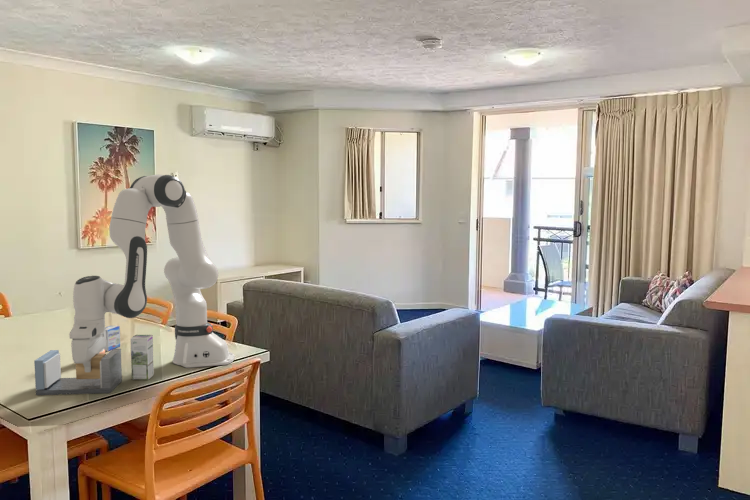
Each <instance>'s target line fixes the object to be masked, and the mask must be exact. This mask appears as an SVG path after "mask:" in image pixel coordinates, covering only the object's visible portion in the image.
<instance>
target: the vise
mask: <svg viewBox="0 0 750 500" xmlns="http://www.w3.org/2000/svg"><path fill="white" fill-rule="evenodd" d="M122 368H123V367H122V348H115V349H113V350H110V351H108V352H107V353H106V355H105V356H104V357H103V358H102V359H101V361H100V379H76V377H60V378H59V379H58V380H57V381H55V382H54V383H53V384H51V385H50V386H49V387H48V388H45V389H41V390H36V389H35V396H50V395H51V396H53V395H54V396H55V395H57V396H58V395H59V394H62V395H86V394H88V395H89V394H111V393H112V392H113V391H114V390H115V389H116V387H118V386H119V384H120V383H122V381H123V378H122V377H123V375H122V374H123V373H122Z"/></svg>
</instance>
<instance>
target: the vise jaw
mask: <svg viewBox="0 0 750 500" xmlns="http://www.w3.org/2000/svg"><path fill="white" fill-rule="evenodd" d="M59 351H60V350H59V349H55V350H54V349H51V350H49V351H48V352H46V353H44V354H42V355H41V356H40V357H38V358H36V359H35V360H34V363H33V364H34V380H35V381H34V385H35V391H36V390H41V389H45V388H48V387H49V386H50V385H51V384H53V383H54V382H55V381H57V380H58V379H59V378H62V369H61V368H62V367H61V353H60V352H59Z"/></svg>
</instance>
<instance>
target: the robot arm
mask: <svg viewBox="0 0 750 500" xmlns="http://www.w3.org/2000/svg"><path fill="white" fill-rule="evenodd" d="M185 188H186V187H185V186H184V184H183V182H182V180H180V178H179V177H177V176H175V175H171V174H152V175H143V176H139V177H138V178H136V179H135V180H133V182H132V183H131V184H130V187H129V188H125V189H122V190H121V191H120V192H119V193H118V195H117V197H116V199H115V203H114V205H113V209H112V213H111V217H110V222H109V238H110V239H111V241H112V242H113V244H114V245H116V246H117V247H118V248H119V249H120V250H121V251H122V252H123V254H124V256H125V259H126V262H125V263H126V264H125V276H124V283H123V284H119V283H115V282H113V281H112V282H111V281H108V280H106V279H104V278H102V277H101V276H99V275H87V276H83V277H81V278H79V279H77V280H76V281H75V283H74V286H73V291H72V292H73V293H72V295H73V296H72V299H73V300H72V303H73V305H72V306H73V308H74V317H73V322H74V323H73V326H72V327H71V328H72V329H70V331H69V334H68V335H69V336H68V337H69V339H71V344H70V346H71V357H72V361H73V363H74V364H76V363H83V365H84V368H85V372H91V371H92V366H91V363H90V362H91V358H93V357H94V356H95V355H96V354H99V352H100V351H101V350H103V349H104V348H105V347H106V343H107V341H106V331H105V327H106V318H105V315H106V313H112V314H116V315H119V316H121V317H124V318H127V319H134V318H136V317H138V316H139V315H141V314H142V313H143V312H144V310H145V309H146V307H147V303H148V295H147V291H146V290H147V289H146V277H147V263H148V246H147V242H146V228H147V221H148V215H149V212H150V211H151V208H152V207H153V208H154V207H155V208H158V207H161V208H162V209H163V210H164V213H165V219H166V227H167V233H168V238H169V243H170V246H171V247H172V249H173V250H174V251H175V253H176V255H177V256H175V257H172V258H171V259H169V260H167V262H166V263H165V265H164V268H163V269H164V270H163V271H164V272H163V273H164V276H165V278H166V280H167V282H169V284H170V288H171V291H172V295H173V298H174V304H175V322H176V323H175V324H174V338H175V346H174V347H175V349H174V354H173V358H172V363H173V364H174V365H176V366H177V365H178V366H182V367H183V368H199V367H210V366H211V367H212V366H224V365H225V366H226V365H229V364H231V363H233V361H235V354H234V353H233V352H230V351H229V346H228V343H227V341H226V340H225V339H223V338H222V337H220V336H219V335H218V334H216V333H214V332H213V330H214V329H213V328H214V326H213V323H210V322H208V306H207V305H208V304H207V301H206V299H205V298H204V296H203V294H202V291H201V290H204V289H210V288H212V287H213V286H214V285H215V284H216V283H217V281H218V277H219V269H218V268H217V266H216V265H215V264H214V263H213V261H212V260H211V258H210V257H209V254H208V252H207V250H206V248H205V246H204V241H203V240H202V239H203V238H202V234H201V228H200V221H199V215H198V211H197V207H196V203H195V202H194V198H193V195H192V194H191V193H190V192H188V191H186V189H185Z"/></svg>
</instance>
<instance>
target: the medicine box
mask: <svg viewBox="0 0 750 500" xmlns="http://www.w3.org/2000/svg"><path fill="white" fill-rule="evenodd" d="M120 329H121V328H120V325H109V326H105V331H106V341H107V343H106V347H105V348H104V350H105V352H110V351H111V350H113V349H118V348H119V347H121V330H120Z"/></svg>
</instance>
